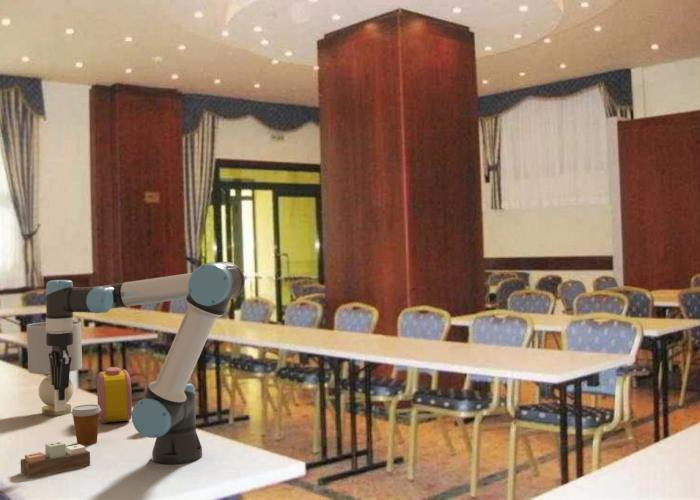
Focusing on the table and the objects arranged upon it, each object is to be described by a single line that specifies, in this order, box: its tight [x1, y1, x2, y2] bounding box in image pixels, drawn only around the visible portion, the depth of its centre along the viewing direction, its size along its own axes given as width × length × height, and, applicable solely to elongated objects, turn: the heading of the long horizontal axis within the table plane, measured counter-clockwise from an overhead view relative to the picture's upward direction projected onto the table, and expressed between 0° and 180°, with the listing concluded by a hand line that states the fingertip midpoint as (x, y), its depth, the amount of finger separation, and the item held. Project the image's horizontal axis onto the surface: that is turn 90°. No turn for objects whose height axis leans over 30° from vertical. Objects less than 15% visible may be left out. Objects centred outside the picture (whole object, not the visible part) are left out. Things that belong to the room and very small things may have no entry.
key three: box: [24, 451, 46, 463], centre depth 231 cm, size 4×4×5 cm
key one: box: [66, 444, 87, 455], centre depth 238 cm, size 4×4×5 cm
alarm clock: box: [96, 366, 133, 424], centre depth 297 cm, size 18×11×19 cm, turn 22°
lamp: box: [26, 320, 83, 417], centre depth 311 cm, size 20×20×35 cm
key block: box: [20, 449, 91, 479], centre depth 234 cm, size 7×18×4 cm, turn 131°
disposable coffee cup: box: [71, 403, 101, 446], centre depth 264 cm, size 10×10×12 cm
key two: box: [44, 440, 67, 459], centre depth 234 cm, size 4×4×5 cm
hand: (60, 410), depth 236 cm, fingers closed
